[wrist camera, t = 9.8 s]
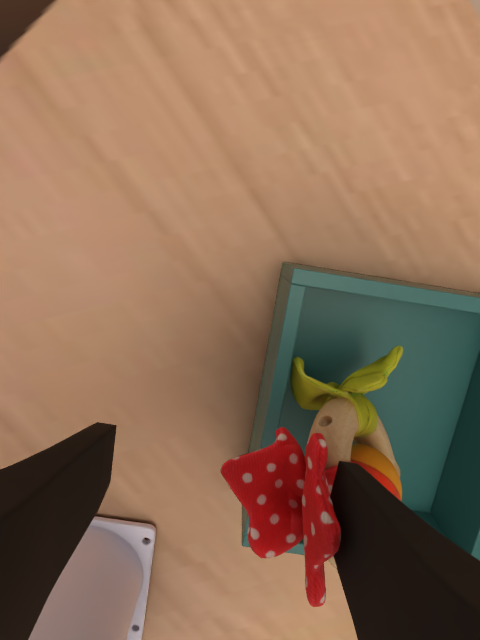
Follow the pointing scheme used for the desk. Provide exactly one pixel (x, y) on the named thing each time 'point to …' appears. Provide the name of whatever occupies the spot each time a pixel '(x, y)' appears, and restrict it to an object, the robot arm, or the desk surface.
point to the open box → (402, 383)
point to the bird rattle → (314, 468)
